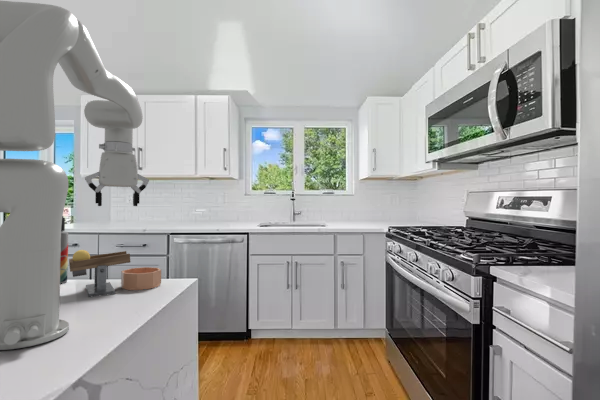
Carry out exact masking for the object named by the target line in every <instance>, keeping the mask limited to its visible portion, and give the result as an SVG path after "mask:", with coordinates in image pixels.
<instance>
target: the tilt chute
mask: <svg viewBox="0 0 600 400" xmlns="http://www.w3.org/2000/svg"><path fill="white" fill-rule="evenodd" d="M128 263H129V264H130V263H131V254H130V253H128V252H127V250H125V251H117V252H110V253H102V254H94V255H90V259H87V260H80V261H73V257H72V258H68V267H69V271H70V272H71V274H72V277H73V278H75V277H80V276H87V270H89V269H90V270H91V269H95V268H98V265H107V266H106V267H111V266H116V265H122V264H128Z"/></svg>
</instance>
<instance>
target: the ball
mask: <svg viewBox="0 0 600 400" xmlns="http://www.w3.org/2000/svg"><path fill="white" fill-rule="evenodd" d="M90 256H91V255H90V252H89V251H88V250H85V249H79V250H76V251H75V252H74V253H73V255H72V258H73V261H80V260H87V259H90Z"/></svg>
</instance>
